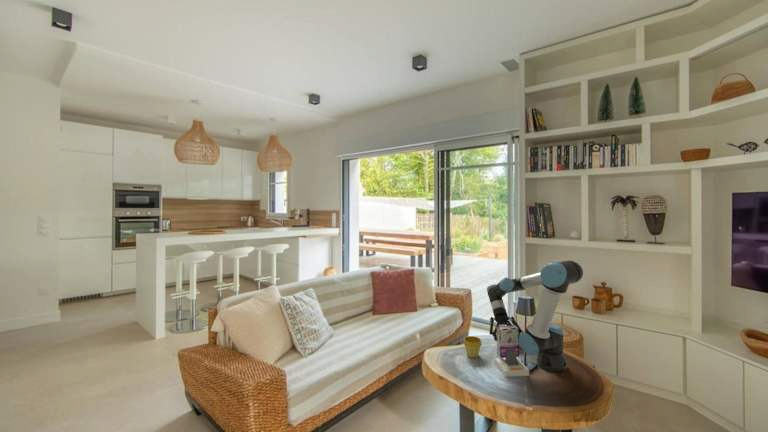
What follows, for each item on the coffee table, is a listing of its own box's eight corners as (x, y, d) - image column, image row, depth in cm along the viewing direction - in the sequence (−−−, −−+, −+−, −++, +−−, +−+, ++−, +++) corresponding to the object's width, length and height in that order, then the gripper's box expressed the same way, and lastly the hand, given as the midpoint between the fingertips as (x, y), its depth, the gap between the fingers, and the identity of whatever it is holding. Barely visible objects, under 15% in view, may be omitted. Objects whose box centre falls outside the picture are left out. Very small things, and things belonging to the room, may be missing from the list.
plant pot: (479, 351, 204) (478, 335, 203) (483, 359, 193) (483, 342, 193) (462, 351, 204) (462, 335, 204) (466, 359, 194) (465, 343, 193)
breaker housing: (516, 362, 189) (516, 354, 189) (529, 375, 174) (529, 367, 174) (494, 362, 189) (494, 355, 188) (505, 376, 174) (505, 368, 173)
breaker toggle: (514, 361, 184) (514, 348, 183) (517, 364, 180) (517, 352, 179) (504, 361, 183) (504, 349, 183) (507, 364, 179) (507, 352, 179)
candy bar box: (515, 352, 188) (515, 324, 187) (519, 357, 183) (519, 328, 182) (496, 354, 187) (496, 325, 186) (500, 358, 182) (500, 329, 181)
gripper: (516, 311, 200) (528, 347, 185) (478, 313, 199) (487, 349, 184) (520, 305, 194) (533, 342, 179) (481, 307, 194) (490, 344, 179)
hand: (509, 346), depth 182 cm, fingers closed on candy bar box, 11 cm apart
